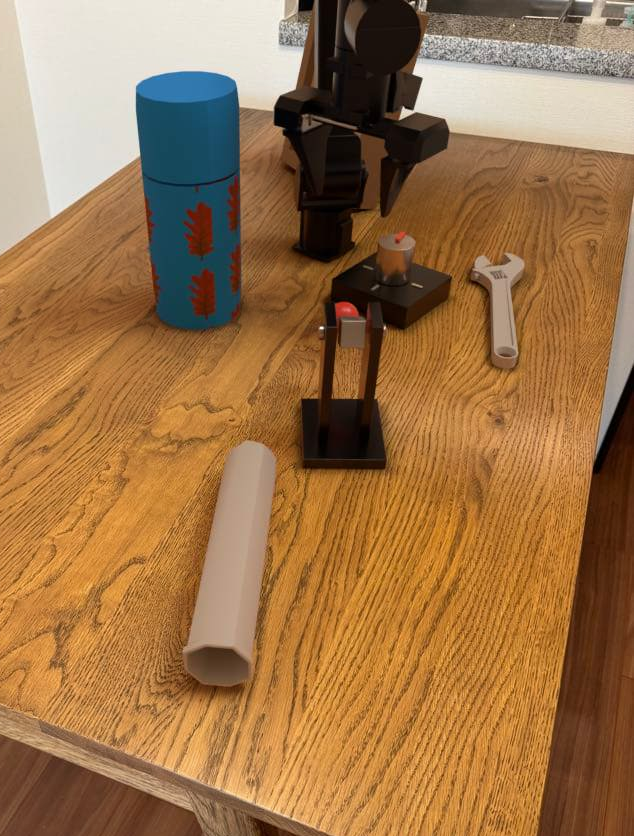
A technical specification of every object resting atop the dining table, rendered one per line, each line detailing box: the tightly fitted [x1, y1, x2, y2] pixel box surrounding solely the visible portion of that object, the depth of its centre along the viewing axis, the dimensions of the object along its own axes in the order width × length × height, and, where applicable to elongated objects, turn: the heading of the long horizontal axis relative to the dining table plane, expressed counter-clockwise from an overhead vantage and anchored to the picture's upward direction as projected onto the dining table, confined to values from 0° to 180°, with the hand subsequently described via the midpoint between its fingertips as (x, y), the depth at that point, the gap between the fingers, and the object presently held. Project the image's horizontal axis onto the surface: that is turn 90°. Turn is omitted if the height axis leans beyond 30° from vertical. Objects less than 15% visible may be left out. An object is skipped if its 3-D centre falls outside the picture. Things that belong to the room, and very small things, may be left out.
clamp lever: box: [335, 302, 366, 349], centre depth 75 cm, size 12×3×3 cm, turn 177°
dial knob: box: [374, 231, 417, 286], centre depth 94 cm, size 4×4×5 cm
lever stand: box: [300, 301, 388, 470], centre depth 74 cm, size 10×8×14 cm
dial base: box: [329, 251, 453, 331], centre depth 97 cm, size 11×10×3 cm
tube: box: [182, 439, 277, 688], centre depth 66 cm, size 5×5×25 cm
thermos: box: [135, 70, 242, 331], centre depth 89 cm, size 11×11×25 cm
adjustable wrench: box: [469, 252, 526, 370], centre depth 95 cm, size 25×6×2 cm, turn 164°
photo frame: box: [280, 0, 430, 210], centre depth 116 cm, size 15×22×25 cm
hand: (350, 205), depth 87 cm, fingers open, 9 cm apart
